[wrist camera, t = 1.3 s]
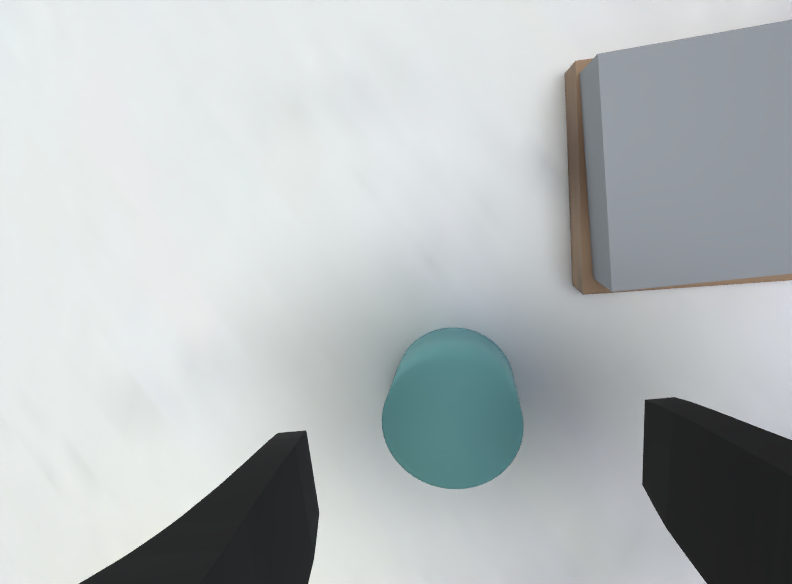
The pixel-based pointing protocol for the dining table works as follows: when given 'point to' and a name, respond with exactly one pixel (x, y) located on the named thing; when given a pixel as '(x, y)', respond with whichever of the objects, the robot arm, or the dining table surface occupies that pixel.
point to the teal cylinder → (453, 410)
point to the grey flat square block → (690, 159)
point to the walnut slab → (579, 199)
